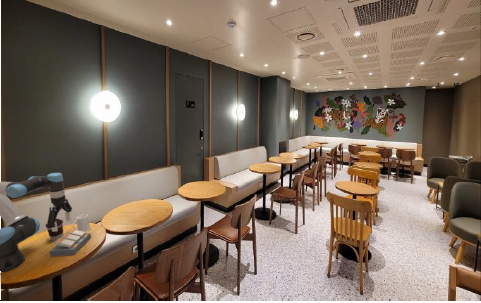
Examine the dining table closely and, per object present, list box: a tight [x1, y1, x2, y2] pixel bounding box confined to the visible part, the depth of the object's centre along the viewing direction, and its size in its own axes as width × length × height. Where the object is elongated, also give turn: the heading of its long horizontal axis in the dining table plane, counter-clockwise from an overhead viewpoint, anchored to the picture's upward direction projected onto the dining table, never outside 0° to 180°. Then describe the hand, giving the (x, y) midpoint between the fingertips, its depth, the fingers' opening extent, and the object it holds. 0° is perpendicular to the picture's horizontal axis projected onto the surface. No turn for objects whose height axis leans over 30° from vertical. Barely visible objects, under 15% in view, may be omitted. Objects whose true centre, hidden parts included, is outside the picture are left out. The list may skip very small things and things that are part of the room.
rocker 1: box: [54, 238, 75, 248], centre depth 149 cm, size 10×4×2 cm, turn 98°
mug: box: [72, 213, 91, 233], centre depth 176 cm, size 12×8×12 cm
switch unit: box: [49, 232, 92, 257], centre depth 155 cm, size 15×20×5 cm
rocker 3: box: [66, 228, 86, 238], centre depth 161 cm, size 10×4×2 cm, turn 98°
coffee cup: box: [45, 218, 64, 242], centre depth 164 cm, size 10×10×15 cm
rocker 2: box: [61, 232, 80, 242], centre depth 155 cm, size 10×4×2 cm, turn 98°
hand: (62, 225), depth 147 cm, fingers open, 13 cm apart
